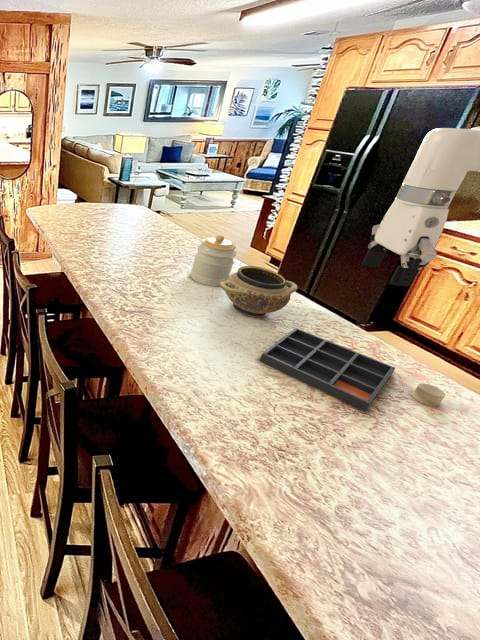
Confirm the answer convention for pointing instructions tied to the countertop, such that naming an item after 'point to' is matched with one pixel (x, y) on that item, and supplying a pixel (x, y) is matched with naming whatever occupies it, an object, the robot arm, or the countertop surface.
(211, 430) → the countertop surface
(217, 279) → the jar
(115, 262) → the countertop surface
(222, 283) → the ceramic bowl
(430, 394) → the cylinder
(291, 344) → the grid
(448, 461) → the countertop surface
